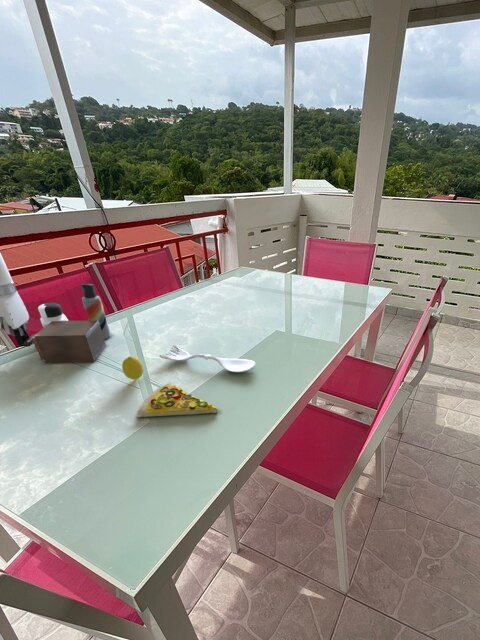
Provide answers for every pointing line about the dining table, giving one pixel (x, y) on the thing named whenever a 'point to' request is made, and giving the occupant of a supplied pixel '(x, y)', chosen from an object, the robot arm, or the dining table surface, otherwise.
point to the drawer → (33, 341)
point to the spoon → (227, 364)
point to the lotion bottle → (95, 308)
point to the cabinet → (71, 341)
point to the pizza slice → (173, 403)
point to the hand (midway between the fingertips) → (25, 345)
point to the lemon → (132, 368)
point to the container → (51, 313)
